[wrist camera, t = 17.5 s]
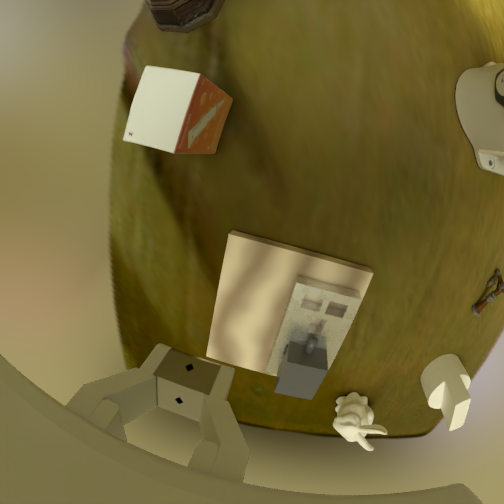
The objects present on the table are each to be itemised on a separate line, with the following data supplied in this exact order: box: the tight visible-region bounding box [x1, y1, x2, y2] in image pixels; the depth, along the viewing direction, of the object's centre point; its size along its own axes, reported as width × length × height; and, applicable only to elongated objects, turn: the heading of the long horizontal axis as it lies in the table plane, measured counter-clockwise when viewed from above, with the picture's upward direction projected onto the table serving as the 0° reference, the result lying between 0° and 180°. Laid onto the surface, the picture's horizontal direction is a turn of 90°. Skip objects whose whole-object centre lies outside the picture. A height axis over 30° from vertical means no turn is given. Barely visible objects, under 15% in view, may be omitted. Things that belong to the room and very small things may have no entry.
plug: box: [274, 336, 328, 400], centre depth 37 cm, size 6×9×6 cm, turn 167°
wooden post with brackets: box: [472, 269, 504, 316], centre depth 33 cm, size 2×8×5 cm, turn 160°
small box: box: [123, 66, 233, 154], centre depth 28 cm, size 8×6×13 cm
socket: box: [266, 275, 362, 374], centre depth 38 cm, size 9×16×2 cm, turn 167°
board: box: [206, 230, 373, 376], centre depth 41 cm, size 20×22×2 cm
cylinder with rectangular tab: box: [420, 354, 471, 431], centre depth 35 cm, size 9×9×12 cm
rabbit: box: [333, 392, 387, 451], centre depth 40 cm, size 12×9×12 cm
